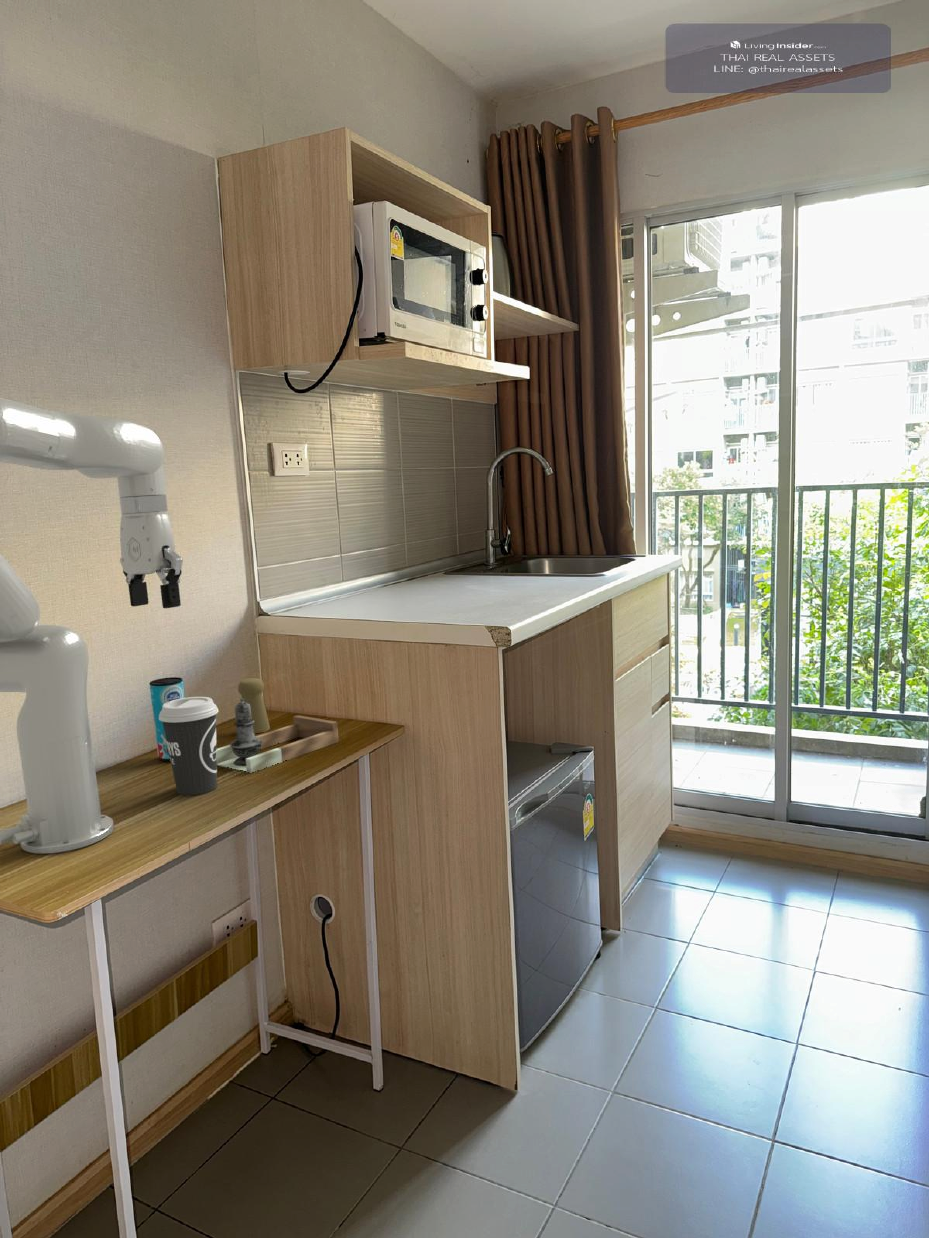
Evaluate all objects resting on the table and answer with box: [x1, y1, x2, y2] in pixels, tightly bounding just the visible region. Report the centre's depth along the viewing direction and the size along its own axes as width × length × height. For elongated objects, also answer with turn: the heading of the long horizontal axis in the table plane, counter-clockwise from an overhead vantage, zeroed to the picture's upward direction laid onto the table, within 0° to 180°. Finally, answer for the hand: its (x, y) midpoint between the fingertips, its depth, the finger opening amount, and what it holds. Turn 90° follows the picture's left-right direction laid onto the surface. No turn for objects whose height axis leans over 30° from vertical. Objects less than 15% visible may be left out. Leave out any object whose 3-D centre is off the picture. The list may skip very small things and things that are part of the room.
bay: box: [216, 714, 340, 774], centre depth 166 cm, size 21×11×4 cm, turn 142°
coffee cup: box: [159, 696, 220, 797], centre depth 146 cm, size 10×10×15 cm
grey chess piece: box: [229, 697, 263, 766], centre depth 160 cm, size 6×6×12 cm
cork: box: [237, 677, 271, 735], centre depth 182 cm, size 6×6×11 cm
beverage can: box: [149, 676, 186, 762], centre depth 166 cm, size 6×6×15 cm
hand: (155, 606), depth 152 cm, fingers open, 9 cm apart
